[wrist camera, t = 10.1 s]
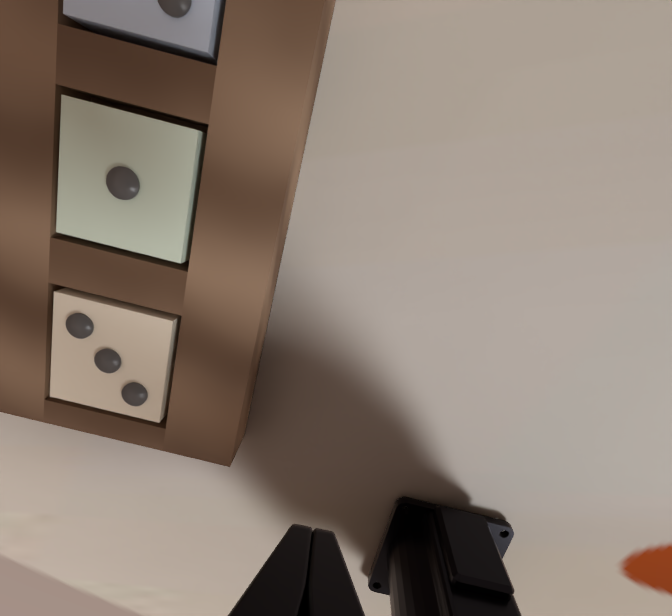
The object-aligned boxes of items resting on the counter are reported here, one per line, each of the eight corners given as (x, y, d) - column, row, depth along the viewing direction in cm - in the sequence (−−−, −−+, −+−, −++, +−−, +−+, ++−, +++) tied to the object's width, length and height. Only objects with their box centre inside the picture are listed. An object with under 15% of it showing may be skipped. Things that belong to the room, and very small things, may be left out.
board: (244, 435, 21) (229, 466, 18) (18, 380, 20) (-26, 405, 18) (355, -98, 14) (356, -157, 12) (26, -190, 14) (-42, -270, 11)
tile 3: (178, 400, 20) (157, 424, 18) (79, 376, 20) (47, 397, 17) (191, 307, 18) (171, 322, 16) (85, 281, 18) (51, 292, 16)
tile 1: (199, 255, 18) (178, 264, 15) (88, 227, 17) (53, 232, 15) (217, 137, 16) (196, 129, 14) (96, 105, 16) (58, 93, 14)
